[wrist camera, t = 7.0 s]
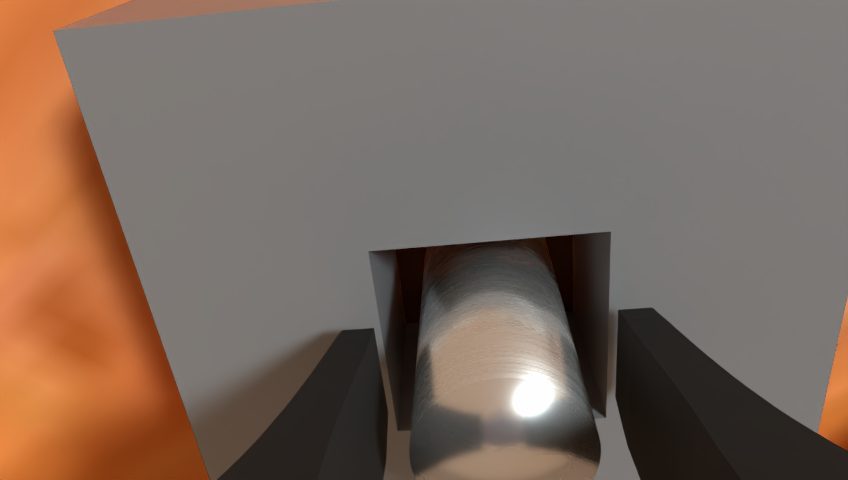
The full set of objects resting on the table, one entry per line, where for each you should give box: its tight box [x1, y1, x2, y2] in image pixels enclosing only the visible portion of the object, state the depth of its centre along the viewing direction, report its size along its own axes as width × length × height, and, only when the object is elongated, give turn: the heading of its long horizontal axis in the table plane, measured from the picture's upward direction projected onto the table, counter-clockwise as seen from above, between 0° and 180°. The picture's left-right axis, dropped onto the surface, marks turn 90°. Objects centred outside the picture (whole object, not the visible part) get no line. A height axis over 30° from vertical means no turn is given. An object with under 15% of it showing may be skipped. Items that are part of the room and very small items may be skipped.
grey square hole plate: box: [53, 0, 848, 480], centre depth 15 cm, size 13×13×4 cm
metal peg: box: [409, 237, 601, 480], centre depth 14 cm, size 3×3×7 cm
